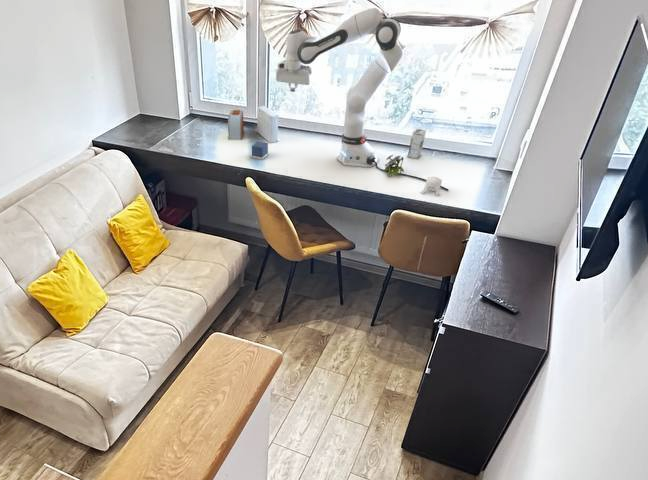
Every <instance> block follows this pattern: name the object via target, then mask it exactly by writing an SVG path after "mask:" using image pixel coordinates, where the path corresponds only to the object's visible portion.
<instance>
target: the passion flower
mask: <svg viewBox="0 0 648 480" xmlns="http://www.w3.org/2000/svg"><path fill="white" fill-rule="evenodd" d="M393 156H394V155H393V154H391V155H389V156H387V158H386V159H385V160H386V161H388V160H389V161H388V162H387V163H385V164H384V169H383V170H387V171H389V172H387V176H388V177H390V176H391V177H393V176H396V175H398V174H397V173H401V174H402V172H403V173H404V172H405V170H404V168H403V167H402V165H403V163H404V162H403V161H404V156H401V155H396V156H395V157H393ZM392 157H393V158H392ZM399 165H400V166H399ZM391 172H392V173H391Z"/></svg>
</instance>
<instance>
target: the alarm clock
mask: <svg viewBox="0 0 648 480" xmlns="http://www.w3.org/2000/svg"><path fill="white" fill-rule="evenodd" d="M244 125H245V124H244V111H243V110H241V109H233V110H230V112H229V115H228V118H227V134H228V140H242V138H243V136H244V133H245V131H244V130H245V129H244V127H245V126H244Z"/></svg>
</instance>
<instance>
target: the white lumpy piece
mask: <svg viewBox="0 0 648 480" xmlns="http://www.w3.org/2000/svg"><path fill="white" fill-rule="evenodd" d="M426 180H427V181H425V185H424V187H423V189H422V191H421V194H424V193H426V191H430V192H434V191H435V195H436V196H439V195H440V191H439V190H440V189H441V187H440V186H442V182H443V179H442V178H440V177H437V176H427V177H426Z"/></svg>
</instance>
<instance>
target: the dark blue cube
mask: <svg viewBox="0 0 648 480" xmlns="http://www.w3.org/2000/svg"><path fill="white" fill-rule="evenodd" d="M268 155H269V143H268V142H265V141H264V142H263V141H258V140H257V141H256V142H255V143H253V145H251V158H252V159H258V160H264V158H267V156H268Z"/></svg>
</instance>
